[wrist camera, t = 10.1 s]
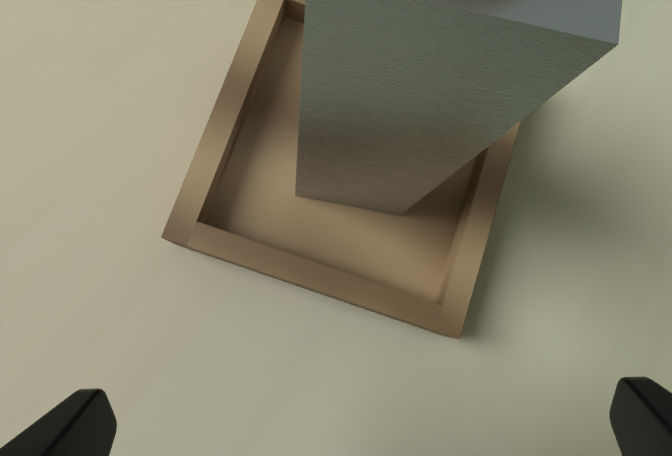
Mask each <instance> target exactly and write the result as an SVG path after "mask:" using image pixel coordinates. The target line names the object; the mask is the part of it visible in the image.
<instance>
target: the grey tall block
mask: <svg viewBox="0 0 672 456" xmlns="http://www.w3.org/2000/svg"><path fill="white" fill-rule="evenodd" d="M621 8H622V0H305V17H304V35H303V54H302V73H301V91H300V110H299V129H298V147H297V166H296V185H295V196H300V197H305V198H310V199H315V200H320V201H325V202H330V203H335V204H340V205H345V206H350V207H356V208H361V209H366V210H371V211H376V212H381V213H386V214H391V215H396V216H400V215H401V214H402V213H404V212H405V211H406V210H407V209H409V208H410V207H411V206H413V205H414V204H415V203H416V202H418V201H419V200H420V199H422V198H423V197H424V196H425V195H427V194H428V193H429V192H430V191H432V190H433V189H434V188H436V187H437V186H438V185H439V184H441V183H442V182H443V181H444V180H446V179H447V178H448V177H450V176H451V175H452V174H453V173H455V172H456V171H457V170H459V169H460V168H461V167H462V166H464V165H465V164H466V163H467V162H469V161H470V160H471V159H473V158H474V157H475V156H476V155H478V154H479V153H480V152H482V151H483V150H484V149H485V148H487V147H488V146H489V145H490V144H492V143H493V142H494V141H496V140H497V139H498V138H499V137H501V136H502V135H503V134H504V133H506V132H507V131H508V130H510V129H511V128H512V127H513V126H515V125H516V124H517V123H519V122H520V121H521V120H522V119H524V118H525V117H526V116H527V115H529V114H530V113H531V112H533V111H534V110H535V109H536V108H538V107H539V106H540V105H542V104H543V103H544V102H545V101H547V100H548V99H549V98H550V97H552V96H553V95H554V94H556V93H557V92H558V91H559V90H561V89H562V88H563V87H565V86H566V85H567V84H568V83H570V82H571V81H572V80H573V79H575V78H576V77H577V76H579V75H580V74H581V73H582V72H584V71H585V70H586V69H587V68H589V67H590V66H591V65H593V64H594V63H595V62H596V61H598V60H599V59H600V58H602V57H603V56H604V55H605V54H607V53H608V52H609V51H610V50H612V49H613V48H614V47H616V46H617V45H618V41H619V30H620V19H621Z"/></svg>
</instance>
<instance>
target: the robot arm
mask: <svg viewBox="0 0 672 456" xmlns="http://www.w3.org/2000/svg"><path fill="white" fill-rule="evenodd" d="M610 422H611V426H612V429H613V431H614V434H615V437H616V440H617V442H618V445H619V448H620V451H621V453H622V456H672V393H671V392H669V391H668V390H666V389H665V388H663V387H662V386H660V385H659V384H658V383H656V382H655V381H653V380H651V379H650V378H647V377H623V378H621V379H620V380H619V381H618V384H617V387H616V390H615V394H614V397H613V401H612V404H611V408H610ZM116 429H117V422H116V418H115V415H114V413H113V410H112V408H111V405H110V403H109V400H108V398H107V395H106V393H105V392H104V391H103V390H102V389H80V390H78V391H76V392H74V393H73V394H72V395H70V396H69V397H68V398H66V399H65V400H64V401H62V402H61V403H60V404H58V405H57V406H56V407H54V408H53V409H52V410H50V411H49V412H48V413H46V414H45V415H44V416H42V417H41V418H40V419H39V420H37V421H36V422H35V423H33V424H32V425H31V426H29V427H28V428H27V429H25V430H24V431H23V432H21V433H20V434H19V435H17V436H16V437H15V438H13V439H12V440H11V441H9V442H8V443H7V444H6V445H4V446H3V447H2V448H0V456H109V454H110V451H111V447H112V444H113V441H114V438H115V434H116Z"/></svg>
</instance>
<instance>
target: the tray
mask: <svg viewBox="0 0 672 456" xmlns="http://www.w3.org/2000/svg"><path fill="white" fill-rule="evenodd" d="M304 17H305V0H257V2H256V4H255V7H254V9H253V12H252V14H251V17H250V19H249V22H248V24H247V27H246V29H245V32H244V34H243V36H242V39H241V41H240V44H239V46H238V49H237V51H236V54H235V56H234V59H233V61H232V64H231V66H230V69H229V71H228V73H227V76H226V78H225V81H224V83H223V86H222V88H221V91H220V93H219V96H218V98H217V101H216V103H215V106H214V108H213V110H212V113H211V115H210V118H209V120H208V123H207V125H206V128H205V130H204V133H203V135H202V138H201V140H200V143H199V145H198V148H197V150H196V152H195V155H194V157H193V160H192V162H191V165H190V167H189V170H188V172H187V175H186V177H185V180H184V182H183V185H182V187H181V189H180V192H179V194H178V197H177V199H176V202H175V204H174V207H173V209H172V212H171V214H170V217H169V219H168V222H167V224H166V226H165V229H164V231H163V234H162V236H161V237H162V238H164V239H166V240H168V241H170V242H172V243H174V244H176V245H179V246H182V247H185V248H188V249H191V250H194V251H197V252H200V253H203V254H206V255H209V256H212V257H215V258H217V259H220V260H223V261H226V262H229V263H232V264H235V265H238V266H241V267H244V268H247V269H250V270H253V271H256V272H258V273H261V274H264V275H267V276H270V277H273V278H276V279H279V280H282V281H285V282H288V283H291V284H294V285H296V286H299V287H302V288H305V289H308V290H311V291H314V292H317V293H320V294H323V295H326V296H329V297H332V298H335V299H337V300H340V301H343V302H346V303H349V304H352V305H355V306H358V307H361V308H364V309H367V310H370V311H373V312H376V313H378V314H381V315H384V316H387V317H390V318H393V319H396V320H399V321H402V322H405V323H408V324H411V325H414V326H416V327H419V328H422V329H425V330H428V331H431V332H434V333H437V334H440V335H443V336H447V337H452V338H456V339H460V335H461V332H462V328H463V325H464V321H465V318H466V314H467V311H468V307H469V303H470V300H471V296H472V293H473V289H474V286H475V282H476V279H477V275H478V271H479V268H480V264H481V261H482V257H483V254H484V250H485V246H486V243H487V239H488V236H489V232H490V229H491V225H492V222H493V218H494V214H495V211H496V207H497V204H498V200H499V197H500V193H501V190H502V186H503V182H504V179H505V175H506V172H507V168H508V165H509V161H510V157H511V154H512V150H513V147H514V143H515V140H516V136H517V133H518V129H519V125H520V122H521V121H520V122H519V123H517V124H516V125H515V126H513V127H512V128H511V129H510V130H508V131H507V132H506V133H504V134H503V135H502V136H501V137H499V138H498V139H497V140H496V141H494V142H493V143H492V144H490V145H489V146H488V147H487V148H485V149H484V150H483V151H482V152H480V153H479V154H478V155H476V156H475V157H474V158H473V159H471V160H470V161H469V162H467V163H466V164H465V165H464V166H462V167H461V168H460V169H459V170H457V171H456V172H455V173H453V174H452V175H451V176H450V177H448V178H447V179H446V180H444V181H443V182H442V183H441V184H439V185H438V186H437V187H436V188H434V189H433V190H432V191H430V192H429V193H428V194H427V195H425V196H424V197H423V198H422V199H420V200H419V201H418V202H416V203H415V204H414V205H413V206H411V207H410V208H409V209H407V210H406V211H405V212H404V213H402V214H401V215H400V216H396V215H391V214H386V213H381V212H376V211H371V210H366V209H361V208H356V207H350V206H345V205H340V204H335V203H330V202H325V201H320V200H315V199H310V198H305V197H300V196H295V185H296V166H297V147H298V129H299V110H300V91H301V73H302V54H303V35H304Z"/></svg>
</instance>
